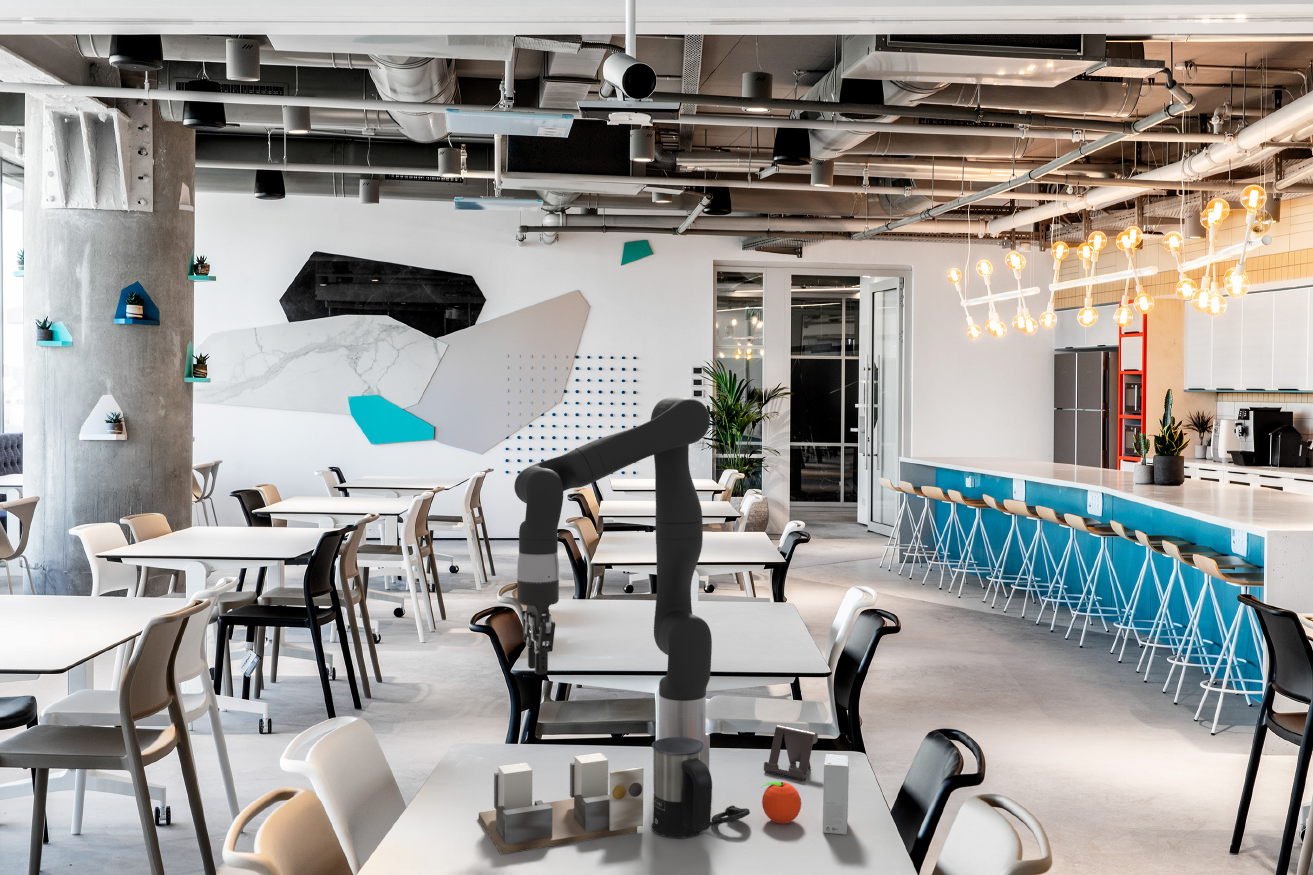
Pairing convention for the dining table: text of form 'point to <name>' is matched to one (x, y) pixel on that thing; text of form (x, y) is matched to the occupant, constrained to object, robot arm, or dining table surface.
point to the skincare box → (835, 794)
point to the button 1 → (513, 786)
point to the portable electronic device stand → (791, 751)
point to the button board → (570, 817)
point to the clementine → (781, 802)
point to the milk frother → (684, 790)
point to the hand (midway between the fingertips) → (537, 670)
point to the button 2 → (589, 776)
